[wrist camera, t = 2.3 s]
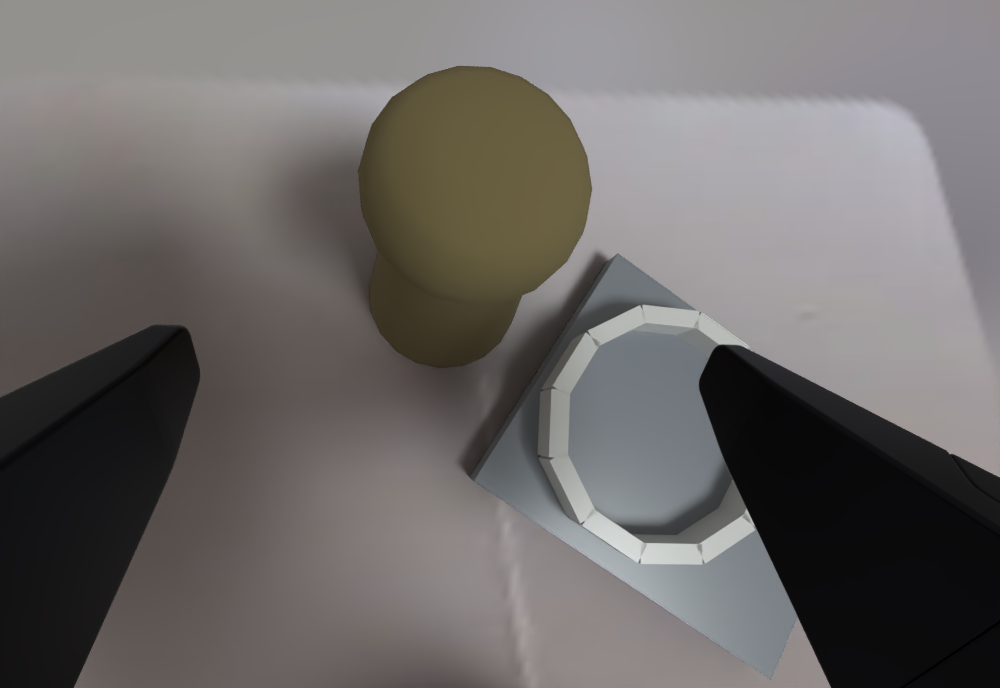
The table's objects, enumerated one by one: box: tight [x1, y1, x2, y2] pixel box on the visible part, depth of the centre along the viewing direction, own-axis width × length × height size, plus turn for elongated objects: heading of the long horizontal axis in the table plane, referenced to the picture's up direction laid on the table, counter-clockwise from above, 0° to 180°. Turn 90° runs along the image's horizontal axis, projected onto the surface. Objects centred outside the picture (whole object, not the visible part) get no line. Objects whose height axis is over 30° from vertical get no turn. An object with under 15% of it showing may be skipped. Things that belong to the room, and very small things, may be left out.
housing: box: [470, 254, 797, 679], centre depth 20 cm, size 14×11×3 cm
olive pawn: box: [358, 66, 592, 368], centre depth 15 cm, size 6×6×11 cm
